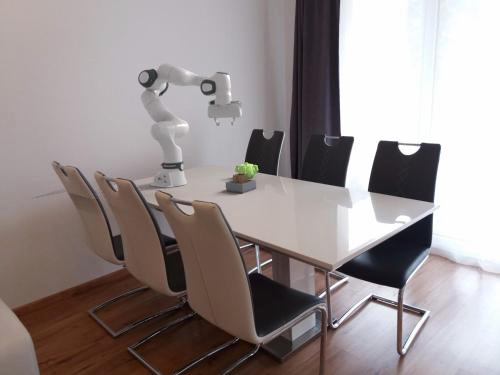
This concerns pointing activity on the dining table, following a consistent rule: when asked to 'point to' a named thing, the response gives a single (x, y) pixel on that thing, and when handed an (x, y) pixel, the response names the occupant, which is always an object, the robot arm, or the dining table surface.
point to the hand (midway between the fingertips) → (225, 125)
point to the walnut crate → (240, 178)
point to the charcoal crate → (241, 186)
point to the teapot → (247, 169)
